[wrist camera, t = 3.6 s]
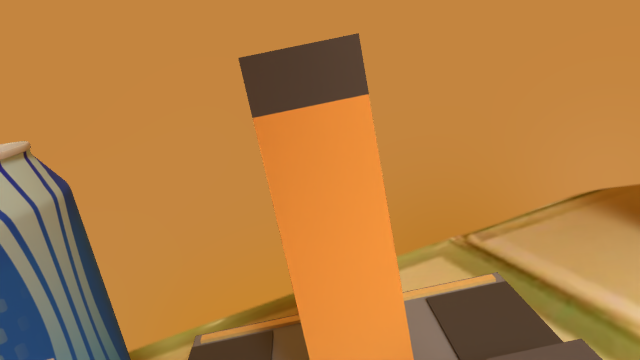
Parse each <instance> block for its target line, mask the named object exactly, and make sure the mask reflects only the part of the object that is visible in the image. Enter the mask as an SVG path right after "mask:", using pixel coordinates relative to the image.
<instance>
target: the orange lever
mask: <svg viewBox="0 0 640 360" xmlns="http://www.w3.org/2000/svg"><path fill="white" fill-rule="evenodd" d="M239 62H240V66H241V71H242V75H243V79H244V83H245V88H246V92H247V96H248V101H249V105H250V109H251V113H252V117H253V122H254V126H255V130H256V134H257V139H258V143H259V147H260V151H261V156H262V160H263V164H264V168H265V172H266V177H267V181H268V185H269V189H270V194H271V198H272V202H273V206H274V211H275V214H276V219H277V223H278V228H279V232H280V236H281V240H282V244H283V249H284V253H285V257H286V261H287V265H288V270H289V274H290V278H291V283H292V287H293V291H294V295H295V300H296V304H297V308H298V312H299V316H300V321H301V325H302V329H303V333H304V338H305V342H306V346H307V350H308V355H309V359H310V360H414V358H413V352H412V346H411V340H410V334H409V329H408V323H407V317H406V311H405V305H404V299H403V293H402V287H401V281H400V275H399V269H398V264H397V258H396V252H395V247H394V240H393V234H392V228H391V222H390V216H389V211H388V205H387V199H386V193H385V187H384V181H383V175H382V170H381V163H380V157H379V151H378V146H377V140H376V134H375V128H374V122H373V116H372V110H371V104H370V98H369V93H368V86H367V81H366V75H365V69H364V63H363V57H362V51H361V45H360V39H359V34H353V35H348V36H343V37H339V38H334V39H329V40H324V41H319V42H314V43H309V44H304V45H300V46H295V47H290V48H285V49H280V50H275V51H270V52H265V53H261V54H256V55H251V56H246V57H241V58H239Z"/></svg>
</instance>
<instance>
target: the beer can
mask: <svg viewBox="0 0 640 360" xmlns="http://www.w3.org/2000/svg"><path fill="white" fill-rule="evenodd" d="M30 148H31V146H30V143H29V142H27V141H21V142H13V143H7V144H1V145H0V360H48V359H53V358H54V360H131V359H130V356H129V354H128V351H127V348H126V345H125V342H124V339H123V336H122V334H121V331H120V328H119V325H118V322H117V319H116V316H115V314H114V311H113V308H112V305H111V302H110V299H109V297H108V294H107V291H106V288H105V285H104V282H103V279H102V277H101V274H100V271H99V268H98V265H97V262H96V259H95V257H94V254H93V251H92V248H91V246H90V242H89V240H88V237H87V234H86V231H85V228H84V226H83V222H82V220H81V217H80V214H79V211H78V209H77V205H76V203H75V200H74V197H73V194H72V191H71V189H70V187H69V185H68V184H67V183H66V181H65V180H63V179H62V178H61V177H60V176H58V175H57V174H56V173H55V172H53V171H52V170H51V169H49V168H48V167H47V166H46V165H44V164H43V163H42V162H41V161H39V160H38V159H37V158H36V157H34V156H33V155H32V154H31V152H30Z"/></svg>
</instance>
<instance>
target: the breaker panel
mask: <svg viewBox="0 0 640 360" xmlns="http://www.w3.org/2000/svg"><path fill="white" fill-rule="evenodd" d="M402 293H403V299H404V305H405V311H406V317H407V323H408V329H409V334H410V340H411V346H412V352H413V358H414V360H602V359H601V358H600V357H599V356H598V355H597V354H596V353H595V352H594V351H593V350H592V349H591V348H590V347H589V346H588V345H587V344H586V343H585V342H584V341H583V340H582V339H578V340H573V341H568V342H563V341H562V340H561V339H560V338H559V337H558V336H557V335H556V334H555V333H554V332H553V330H552V329H551V328H550V327H549V326H548V325H547V324H546V323H545V322H544V321H543V320H542V319H541V318H540V317H539V316H538V315H537V313H536V312H535V311H534V310H533V309H532V308H531V307H530V306H529V305H528V304H527V303H526V302H525V301H524V300H523V299H522V297H521V296H520V295H519V294H518V293H517V292H516V291H515V290H514V289H513V288H512V287H511V286H510V285H509V284H508V283H507V282H506V281H505V280H504V279H503V278H502V277H501V276H500V275H499V274H498V272H497V273H492V274H487V275H483V276H478V277H473V278H468V279H464V280H459V281H454V282H449V283H445V284H440V285H435V286H431V287H426V288H421V289H416V290H412V291H407V292H402ZM188 360H310V359H309V355H308V350H307V346H306V342H305V338H304V333H303V329H302V325H301V321H300V316H299V314H298V315H293V316H288V317H284V318H279V319H274V320H269V321H265V322H260V323H255V324H251V325H246V326H241V327H236V328H232V329H227V330H222V331H217V332H213V333H208V334H203V335H198V336H196V338H195V341H194V344H193V347H192V349H191V352H190V355H189V358H188Z"/></svg>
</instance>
